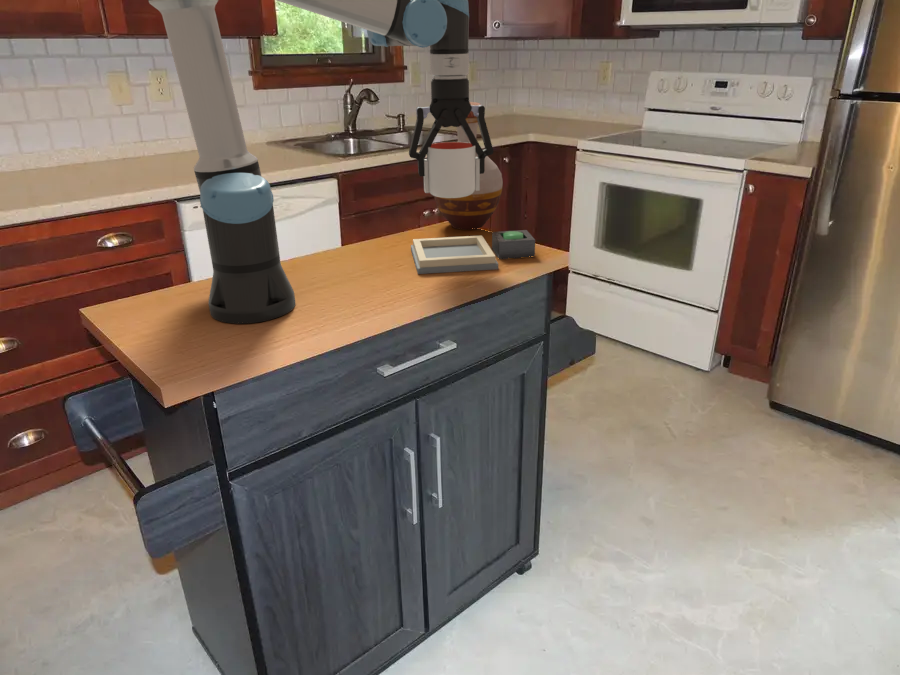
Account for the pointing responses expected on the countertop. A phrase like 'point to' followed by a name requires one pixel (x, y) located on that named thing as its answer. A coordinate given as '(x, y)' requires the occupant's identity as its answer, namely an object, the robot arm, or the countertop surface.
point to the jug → (479, 203)
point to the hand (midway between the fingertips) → (451, 190)
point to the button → (513, 235)
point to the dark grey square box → (513, 245)
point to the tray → (452, 254)
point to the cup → (451, 169)
